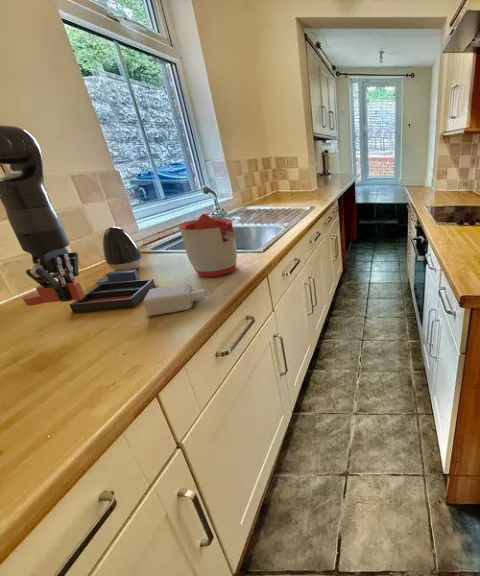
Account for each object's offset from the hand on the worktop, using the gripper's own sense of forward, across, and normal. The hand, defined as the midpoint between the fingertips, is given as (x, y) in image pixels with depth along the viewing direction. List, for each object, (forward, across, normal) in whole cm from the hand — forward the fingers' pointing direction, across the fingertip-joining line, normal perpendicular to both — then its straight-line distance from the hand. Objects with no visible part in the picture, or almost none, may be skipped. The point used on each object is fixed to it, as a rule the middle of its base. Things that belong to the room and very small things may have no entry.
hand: (70, 298), depth 76 cm
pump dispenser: (+7, -40, -7) cm, 41 cm away
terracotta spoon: (0, 0, -3) cm, 3 cm away
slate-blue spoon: (+7, -25, -3) cm, 26 cm away
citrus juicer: (+6, -29, +26) cm, 39 cm away
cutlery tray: (+7, -13, +2) cm, 15 cm away
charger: (+6, -4, +22) cm, 24 cm away
